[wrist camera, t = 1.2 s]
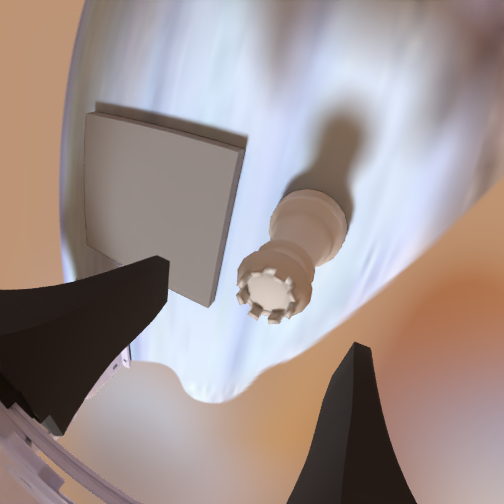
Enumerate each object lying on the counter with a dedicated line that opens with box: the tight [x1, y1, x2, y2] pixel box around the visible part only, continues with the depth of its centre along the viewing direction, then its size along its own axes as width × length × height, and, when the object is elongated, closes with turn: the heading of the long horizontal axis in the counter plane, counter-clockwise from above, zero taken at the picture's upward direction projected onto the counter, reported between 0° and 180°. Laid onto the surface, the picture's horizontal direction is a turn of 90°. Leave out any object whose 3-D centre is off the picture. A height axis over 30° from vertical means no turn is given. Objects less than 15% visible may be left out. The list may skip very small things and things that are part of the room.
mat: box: [84, 112, 245, 308], centre depth 23 cm, size 12×13×1 cm
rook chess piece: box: [236, 189, 348, 324], centre depth 16 cm, size 4×4×8 cm
